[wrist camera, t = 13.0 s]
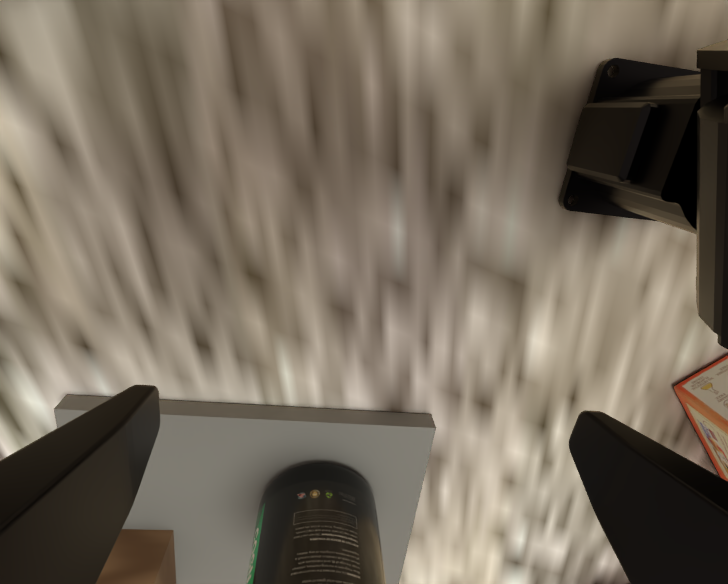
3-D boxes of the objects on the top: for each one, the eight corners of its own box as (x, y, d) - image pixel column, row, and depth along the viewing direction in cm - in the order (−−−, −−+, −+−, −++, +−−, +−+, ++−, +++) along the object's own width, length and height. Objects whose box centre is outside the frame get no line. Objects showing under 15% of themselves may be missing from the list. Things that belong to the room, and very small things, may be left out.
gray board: (431, 414, 26) (435, 428, 25) (394, 573, 31) (396, 591, 30) (67, 394, 23) (53, 409, 22) (94, 571, 28) (85, 590, 27)
